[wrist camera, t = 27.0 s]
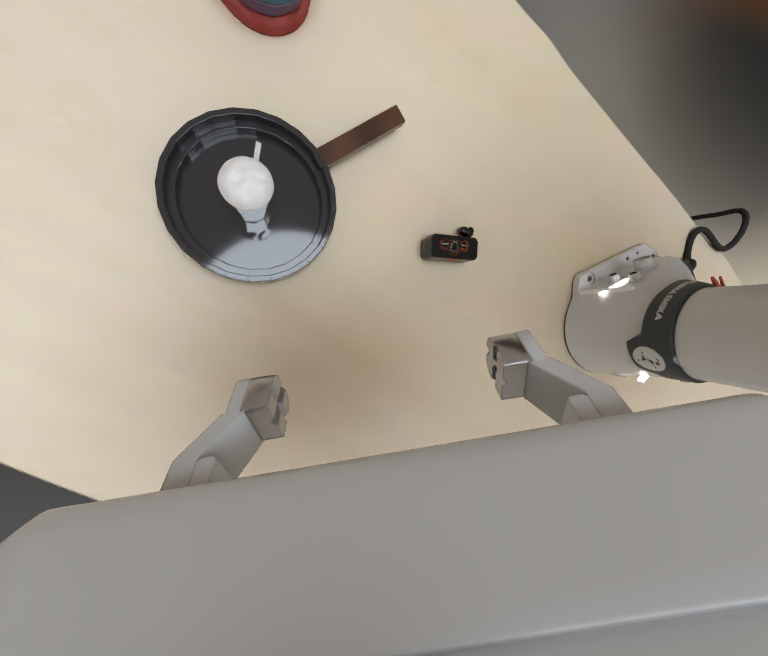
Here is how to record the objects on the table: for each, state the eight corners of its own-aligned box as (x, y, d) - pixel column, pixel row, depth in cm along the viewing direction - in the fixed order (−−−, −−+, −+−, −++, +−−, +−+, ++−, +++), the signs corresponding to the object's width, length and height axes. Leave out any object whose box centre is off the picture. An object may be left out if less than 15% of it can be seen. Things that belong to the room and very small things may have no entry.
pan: (274, 95, 39) (274, 78, 36) (359, 232, 43) (365, 227, 40) (125, 169, 35) (112, 157, 32) (233, 312, 39) (230, 313, 36)
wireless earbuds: (468, 263, 47) (482, 261, 44) (419, 260, 45) (430, 257, 42) (470, 228, 47) (484, 223, 44) (421, 223, 45) (432, 217, 42)
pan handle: (320, 172, 39) (322, 168, 38) (310, 155, 39) (311, 151, 38) (401, 126, 42) (405, 121, 40) (393, 109, 41) (396, 104, 40)
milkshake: (282, 191, 39) (285, 156, 30) (263, 235, 39) (261, 214, 29) (241, 171, 38) (231, 126, 28) (221, 216, 38) (204, 187, 28)
